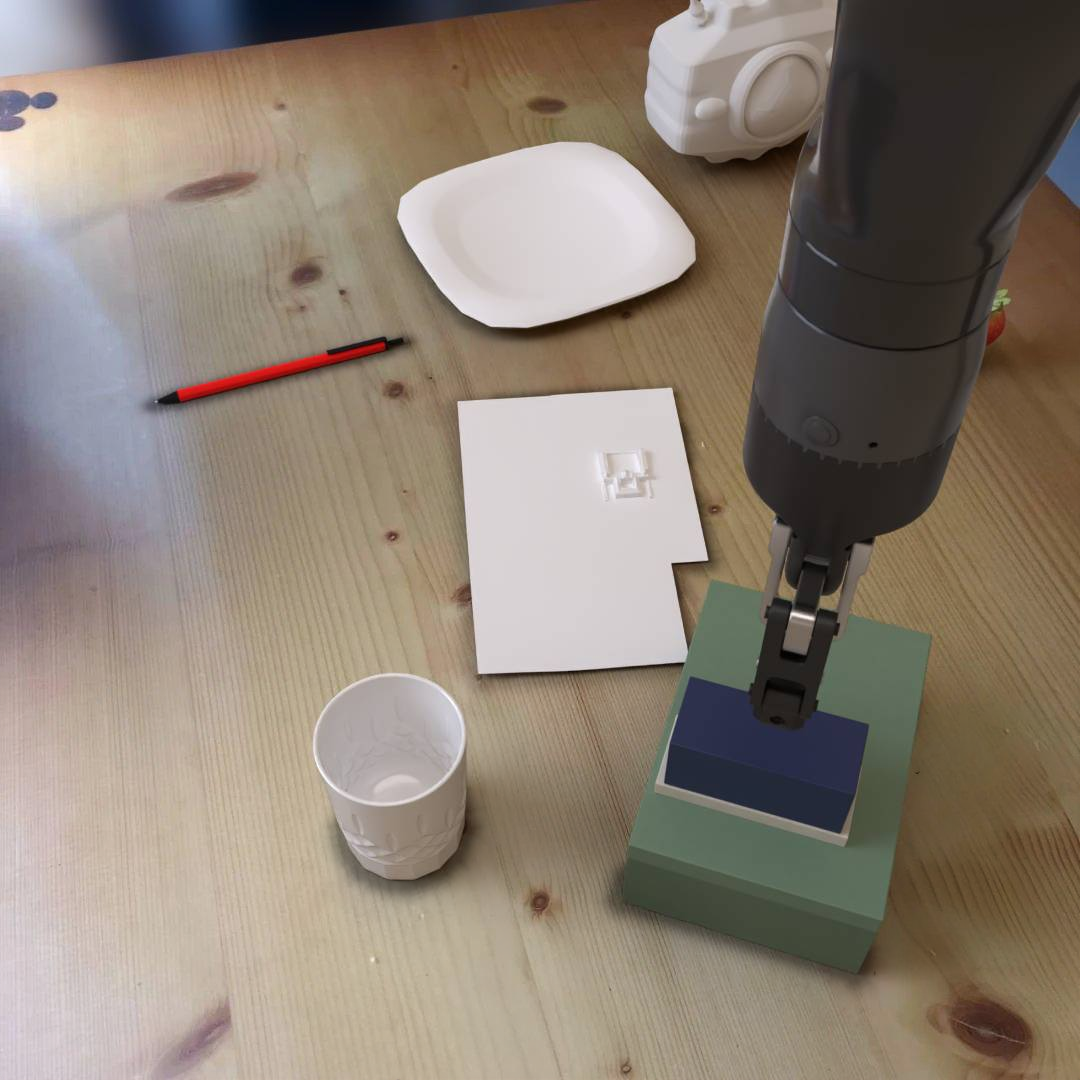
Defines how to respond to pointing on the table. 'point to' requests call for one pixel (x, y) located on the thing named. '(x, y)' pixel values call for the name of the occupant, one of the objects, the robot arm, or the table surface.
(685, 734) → the navy block
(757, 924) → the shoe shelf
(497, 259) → the plate
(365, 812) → the white cup
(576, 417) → the paper
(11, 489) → the table surface
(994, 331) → the fruit
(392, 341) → the pen
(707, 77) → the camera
